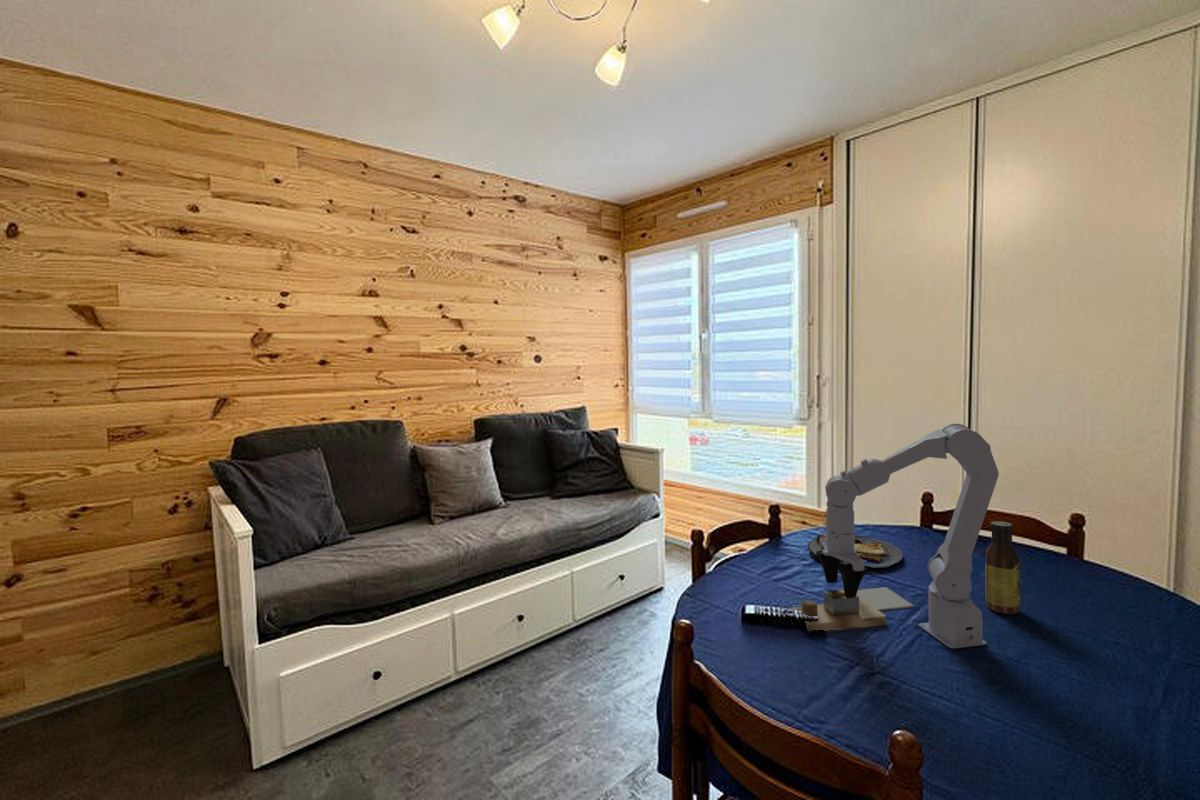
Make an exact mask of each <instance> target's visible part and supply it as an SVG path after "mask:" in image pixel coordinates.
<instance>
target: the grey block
mask: <svg viewBox="0 0 1200 800" xmlns="http://www.w3.org/2000/svg"><path fill="white" fill-rule="evenodd" d="M823 604H824V609H825V610H826V611H828V612H829V613H830V614H831V615H832V616H833V617H837V616H846V615H855V614H859V596H857V595H856V597H855V598H846V597H845V594H844V589H837V590H828V591H823Z"/></svg>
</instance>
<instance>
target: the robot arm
mask: <svg viewBox="0 0 1200 800" xmlns="http://www.w3.org/2000/svg"><path fill="white" fill-rule="evenodd" d="M947 454H949V455H950V456H951V457H952V458H954V459H955V460H956V461H957V462H958V463H959V465H960V466H961V468H962V469H963V471H964V472H965V478H964V481H963V484H962V487H961V490H960V493H959V496H958V499H957V502H956V504H955V508H954V511H953V513H952V516H951V517H952V518H951V520H950V523H949V527H948V529H947V533H946V536H945V538H944V542H943V543H942V544H940V546H939V547H938V548H937V551H936V553H935V555H933V556H932V557H931V558H930V559H929V561H928V562H927V571H928V574H929V575H930V576H931V578H932V581H931V583H930V584H929V585H928V622H920V623H918V626H919V627H920V628H921V629H922V630H924V631H925V632H927V633H928V634H929V635H930V636H932V637H934V638H935V639H936V640H938V641H939V642H941V643H942V644H944V646H947V647H948V648H950V649H960V648H968V647H977V646H978V647H979V646H985V645H987V641H986V640H984V637H983V636H984V635H983V634H984V633H983V630H984V629H983V627H984V626H983V625H984V624H983V623H984V620H983V619H984V618H983V613H982V611H981V609H980V608H979V607H978V606H977V605H976V604H974V603H973V601H972V599H971V597H970V596H971V595H970V594H971V593H972V588H973V584H972V581H971V574H972V571H973V561H972V558H973V557H972V556H973V552H974V549H975V547H976V543H977V540H978V537H979V535H980V532H981V529H982V525H983V523H984V520H985V516H986V514H987V512H988V508H989V506H990V502H991V499H992V495H994V491H995V489H996V485H997V482H998V479H999V474H1000V473H999V469H998V467H997V463H996V462H995V458H994V456H993V453H992V449H991V444H989V442H987V440H986V439H984V438H983V436H982V435H981V434H980V433H979V432H976V431H975V430H972V429H971V428H969V427H968V426H966V425H964V424H961V423H952V424H948V425H946V426H945V427H943V428H942V429H940V428H939V429H936V430H934V431H932V432H930V433H928V434H926V435H924V436H922V437H921V438H919V439H917V440H916V441H914V442H912V443H910V444H909V445H907V446H905V447H903V448H901V449H899V450H898V451H896V452H894V453H892V454H891V455H889V456H887V457H885V458H883V459H882V460H881V459H876V458H871V459H869V460H867V459H866V458H863V459H862V460H860V464H859V465H857V466H855V467H853V468H851V469H849V470H848V471H845V470H842V471H841V472H840V473H839V474H840V475H834V476H831V477H830V478H828V480H827V481H826V484H825V486H824V488H825V496H826V498H827V500H826V507H827V508H826V510H825V514H826V515H825V521H826V523H825V524H826V525H825V526H826V535H825V536H826V539H819V541H820V548H822V551H817V552H816V554H817V556H816V557H817V558H818V560H819V561H820V564H821V567H822V569H823V570H822V571H823V574H824V577H825V581H826V583H827V584H834V583H837V582H838V576H839V573H840V577H841V579H842V584H843V585H842V586H843V590H844V594H845V597H846V598H855V597H856V595H857V591H858V590H859V588H860V587H859V586H860V584H861V582H862V580H863V578H864V577H865V575H866V574H867V573H868V568H867V566H865V567H864V565H865V564H864V561H862V560H861V559H860V557H859V556H858V554H857V553H856V551H855V542H854V536H855V511H854V502H855V500H856V498H857V497H859V496H860V497H861V496H863V495H865V494H867V493H869V492H871V491H872V490H876V489H877V488H879V487H881V486H883V485H885V484H887V483H889V480H890V477H891V475H892V474H893V473H897V472H899V471H901V470H902V469H906V468H907V467H909V466H912V465H914V464H916V463H919V462H921V461H924V460H925V459H927V458H933V459H944V460H946V459H948V456H947ZM840 560H843V561H844V562H846V563H847V566H845V565H840Z"/></svg>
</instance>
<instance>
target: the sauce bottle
mask: <svg viewBox="0 0 1200 800" xmlns="http://www.w3.org/2000/svg"><path fill="white" fill-rule="evenodd" d="M989 526H990V527H989V528H990V529H991V539H990V540H991V542H990V544H989V545H988V546H987V548H986V550H985V566H984V568H985V569H984V570H985V571H984V572H985V573H984V574H985V601H986V606H987V607H988V609H989V610H991V611H993V612H994V613H995V612H996V613H998V614H1002V615H1016V614H1018V613H1019V611H1020V606H1021V588H1020V587H1021V582H1020V581H1021V579H1020V578H1021V574H1020V573H1021V571H1020V569H1021V567H1020V565H1021V564H1020V558H1019V556H1018V553H1017V551H1016V548H1015V546H1014V543H1013V531H1014V526H1013V524H1012V523H1010V522H1007V521H999V520H995V521H991V522H990V525H989Z"/></svg>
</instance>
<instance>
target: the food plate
mask: <svg viewBox="0 0 1200 800" xmlns="http://www.w3.org/2000/svg"><path fill="white" fill-rule="evenodd" d="M819 539H826V535H825V534H822V533H821V534H818V535H817V536H816V538H814V539H812V540H810V541H809V542H808V543H807V549H808V550H809V551H810V552H811V553H812V554H813V556H814V555H815V556H816V557H818V556H817V554H816V552H817V551H822V548H820V541H819ZM854 542H855V551H856V553H862V554H858V556H859V557H860V559H863V560H867V561H873V562H872V563H876V562H877V563H876V564H871V565H870V564H869V565H867V564H864V567H866V568H867V567H868V568H872V569H873V568H874V569H876V568H877V569H878V568H889V567H890V566H893V565H894V564H896V563H899V562H900V561H901V560H903V551H902V550H901V549H900V548H898V547H897V546H896V545H893V544H892V543H889V542H886V541H883V540H879V539H875V538H870V537H868V536H862V535H861V536H860V535H854ZM885 556H886V557H885ZM884 557H885V559H886V561H884V560H883V559H884ZM879 562H880V563H879ZM839 565H841V566H847V563H844V561H843V560H840V563H839Z"/></svg>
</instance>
